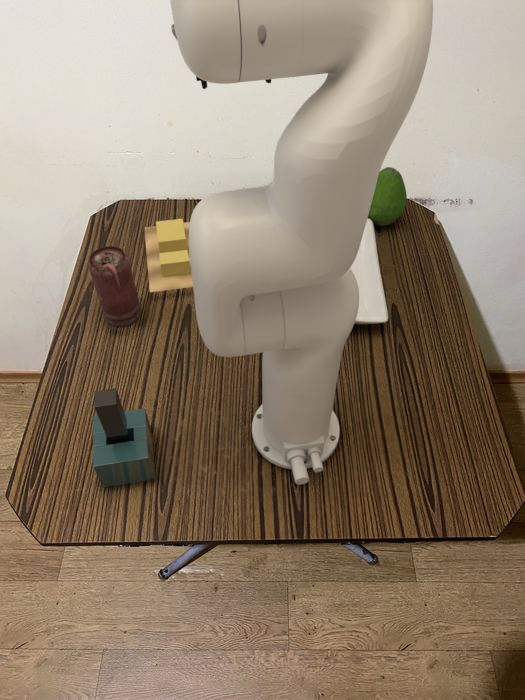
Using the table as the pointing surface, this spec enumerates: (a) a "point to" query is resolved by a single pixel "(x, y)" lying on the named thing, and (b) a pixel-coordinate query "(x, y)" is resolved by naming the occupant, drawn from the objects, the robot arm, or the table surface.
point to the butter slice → (174, 263)
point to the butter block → (171, 235)
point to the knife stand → (124, 452)
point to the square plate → (369, 280)
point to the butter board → (154, 267)
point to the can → (115, 286)
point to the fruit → (388, 197)
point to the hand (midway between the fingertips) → (235, 81)
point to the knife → (111, 415)
